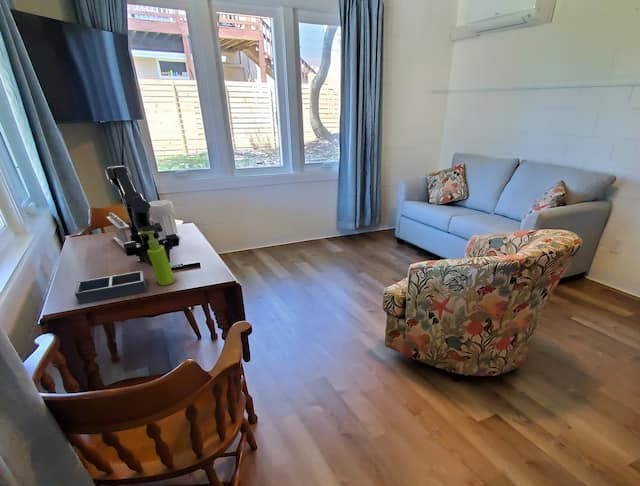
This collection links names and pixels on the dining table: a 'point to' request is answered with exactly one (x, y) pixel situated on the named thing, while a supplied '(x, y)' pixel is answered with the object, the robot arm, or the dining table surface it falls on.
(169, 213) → the white upright cylinder
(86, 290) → the divided storage box
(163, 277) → the soap dispenser
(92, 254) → the dining table surface
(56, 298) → the dining table surface
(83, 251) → the dining table surface
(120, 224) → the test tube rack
